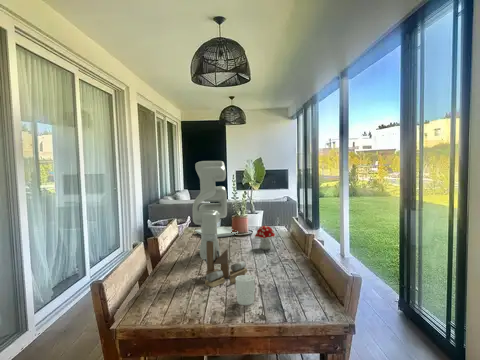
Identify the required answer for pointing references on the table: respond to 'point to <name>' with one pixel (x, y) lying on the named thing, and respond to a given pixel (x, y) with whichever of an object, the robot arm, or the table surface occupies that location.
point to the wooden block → (221, 260)
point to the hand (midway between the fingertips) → (211, 272)
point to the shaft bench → (216, 276)
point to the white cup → (245, 289)
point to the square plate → (221, 232)
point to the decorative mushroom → (265, 237)
